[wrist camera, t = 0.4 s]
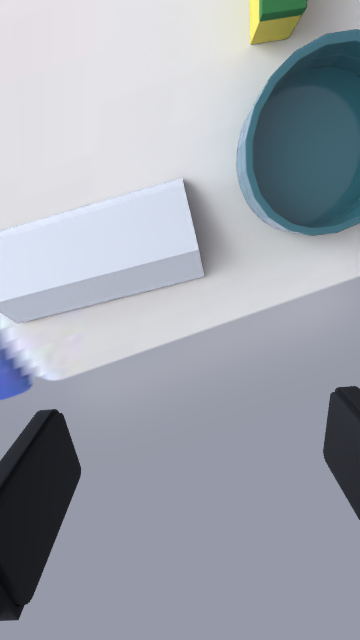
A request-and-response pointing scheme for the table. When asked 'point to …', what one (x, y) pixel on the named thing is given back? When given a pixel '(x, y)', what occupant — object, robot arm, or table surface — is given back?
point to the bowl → (306, 140)
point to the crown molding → (98, 253)
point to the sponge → (274, 19)
